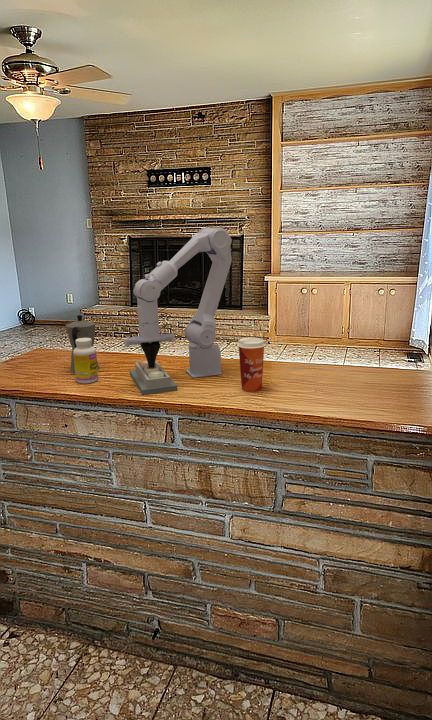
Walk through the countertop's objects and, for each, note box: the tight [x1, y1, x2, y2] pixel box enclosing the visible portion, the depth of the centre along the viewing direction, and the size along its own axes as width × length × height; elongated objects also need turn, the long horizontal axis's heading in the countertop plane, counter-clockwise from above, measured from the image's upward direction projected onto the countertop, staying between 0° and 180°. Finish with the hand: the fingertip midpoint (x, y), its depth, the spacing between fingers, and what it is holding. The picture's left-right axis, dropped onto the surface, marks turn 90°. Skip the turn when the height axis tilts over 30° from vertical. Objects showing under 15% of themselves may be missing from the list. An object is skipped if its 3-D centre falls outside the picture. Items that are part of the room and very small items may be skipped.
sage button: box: [148, 371, 164, 379], centre depth 146 cm, size 4×4×3 cm
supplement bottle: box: [73, 338, 99, 384], centre depth 154 cm, size 7×7×13 cm
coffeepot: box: [65, 314, 100, 374], centre depth 163 cm, size 15×9×18 cm, turn 1°
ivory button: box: [144, 366, 159, 373], centre depth 151 cm, size 4×4×3 cm
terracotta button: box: [139, 359, 148, 367], centre depth 157 cm, size 4×4×3 cm
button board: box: [129, 359, 178, 396], centre depth 152 cm, size 10×20×4 cm, turn 19°
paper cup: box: [237, 336, 266, 393], centre depth 143 cm, size 8×8×14 cm
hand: (151, 367), depth 151 cm, fingers closed, pressing on ivory button
